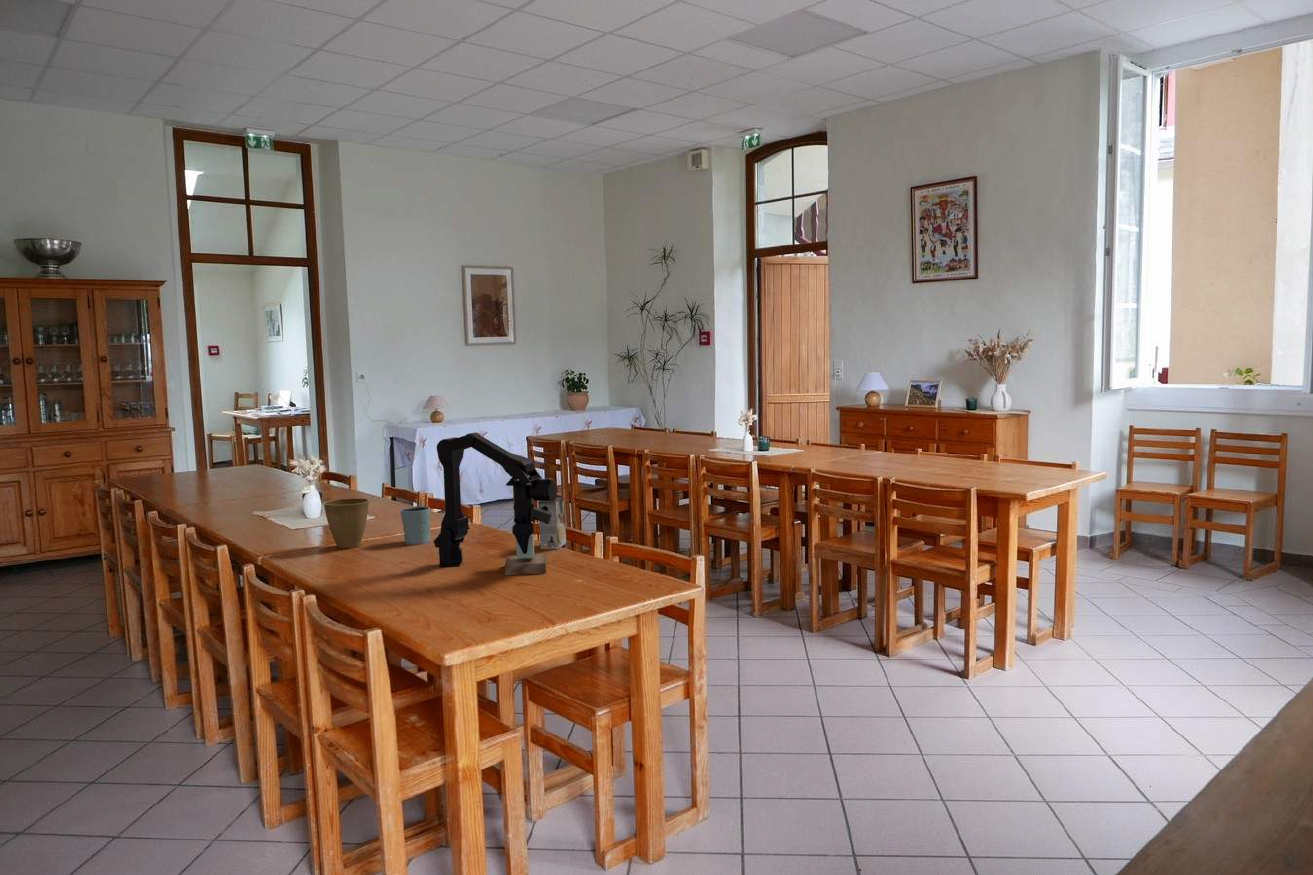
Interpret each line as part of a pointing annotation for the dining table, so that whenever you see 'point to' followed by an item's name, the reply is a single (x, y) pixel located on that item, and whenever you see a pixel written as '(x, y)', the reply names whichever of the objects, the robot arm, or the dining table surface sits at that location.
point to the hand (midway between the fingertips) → (525, 551)
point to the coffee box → (553, 525)
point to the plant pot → (347, 520)
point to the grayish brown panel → (525, 565)
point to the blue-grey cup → (416, 525)
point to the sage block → (529, 551)
